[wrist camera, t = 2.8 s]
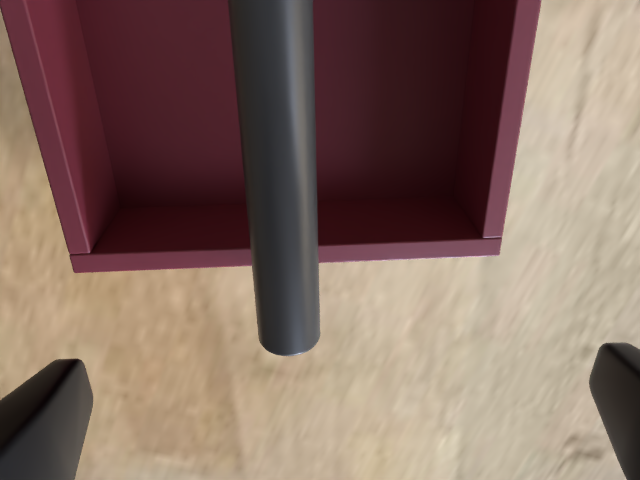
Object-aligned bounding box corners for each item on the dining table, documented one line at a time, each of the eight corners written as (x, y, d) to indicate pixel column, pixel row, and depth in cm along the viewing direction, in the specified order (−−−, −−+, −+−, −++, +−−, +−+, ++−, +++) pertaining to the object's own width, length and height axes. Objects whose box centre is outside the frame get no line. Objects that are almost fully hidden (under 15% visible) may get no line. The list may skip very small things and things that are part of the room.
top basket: (110, 218, 18) (8, 370, 11) (27, -147, 13) (-233, -245, 7) (464, 205, 18) (560, 345, 12) (508, -154, 13) (711, -251, 7)
